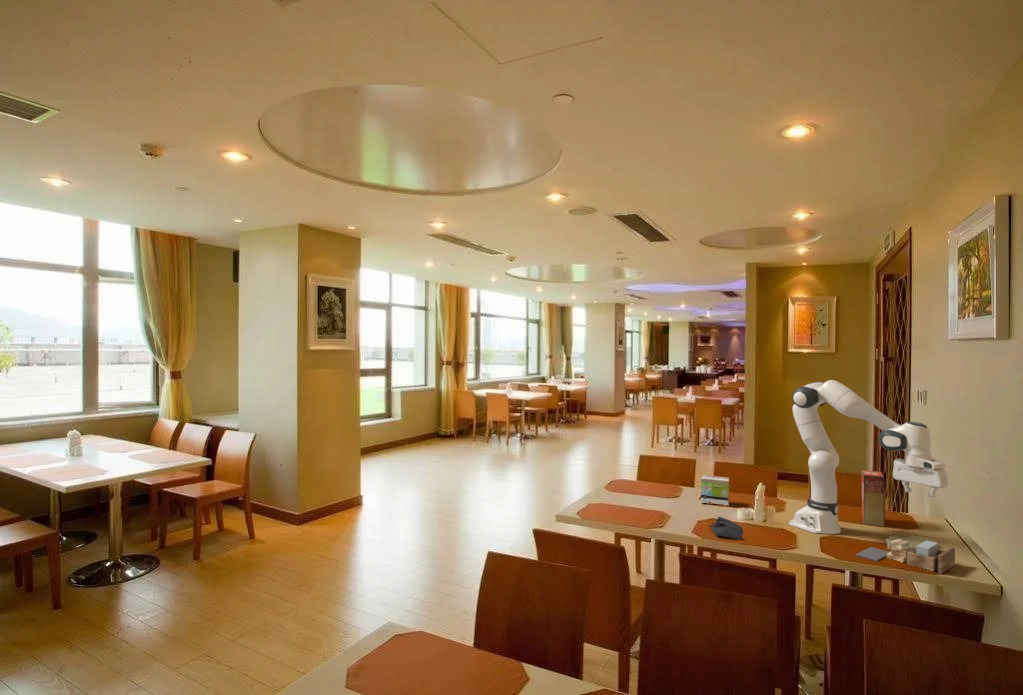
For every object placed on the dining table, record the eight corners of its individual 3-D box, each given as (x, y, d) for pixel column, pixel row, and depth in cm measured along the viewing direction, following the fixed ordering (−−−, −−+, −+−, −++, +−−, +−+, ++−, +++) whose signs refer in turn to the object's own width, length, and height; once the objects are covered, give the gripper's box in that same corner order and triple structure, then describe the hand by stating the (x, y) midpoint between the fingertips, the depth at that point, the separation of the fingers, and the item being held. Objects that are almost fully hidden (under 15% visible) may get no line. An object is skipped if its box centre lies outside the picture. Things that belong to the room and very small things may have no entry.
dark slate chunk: (710, 538, 255) (710, 528, 255) (708, 524, 276) (708, 514, 276) (746, 542, 250) (746, 531, 250) (741, 527, 271) (741, 517, 271)
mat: (855, 555, 233) (855, 554, 233) (870, 548, 242) (870, 546, 242) (876, 561, 226) (876, 560, 226) (891, 553, 235) (891, 552, 235)
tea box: (700, 504, 310) (700, 478, 310) (701, 499, 320) (701, 474, 320) (728, 507, 305) (729, 480, 305) (729, 502, 314) (729, 476, 314)
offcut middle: (891, 554, 229) (891, 548, 229) (895, 549, 235) (895, 543, 235) (905, 557, 226) (905, 551, 226) (909, 552, 232) (909, 546, 232)
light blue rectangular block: (916, 565, 223) (916, 545, 223) (926, 559, 229) (926, 540, 229) (928, 568, 220) (928, 548, 220) (937, 562, 226) (937, 543, 226)
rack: (906, 564, 223) (906, 547, 223) (921, 556, 233) (921, 539, 233) (941, 574, 214) (941, 556, 214) (954, 564, 223) (954, 547, 223)
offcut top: (890, 547, 231) (891, 541, 231) (898, 544, 234) (898, 538, 234) (901, 550, 228) (901, 544, 228) (909, 547, 230) (909, 541, 230)
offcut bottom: (886, 559, 230) (886, 553, 230) (896, 554, 236) (896, 548, 236) (903, 564, 225) (903, 558, 225) (912, 559, 231) (912, 553, 231)
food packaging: (861, 517, 287) (861, 469, 287) (882, 520, 282) (882, 471, 283) (863, 524, 275) (863, 474, 275) (885, 527, 271) (885, 476, 271)
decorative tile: (935, 546, 246) (935, 538, 246) (940, 560, 230) (940, 551, 230) (885, 537, 257) (885, 530, 257) (886, 550, 240) (886, 542, 240)
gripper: (888, 457, 238) (890, 489, 237) (938, 465, 218) (940, 500, 218) (899, 456, 240) (900, 488, 239) (949, 464, 220) (951, 499, 220)
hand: (919, 494), depth 228 cm, fingers open, 8 cm apart
